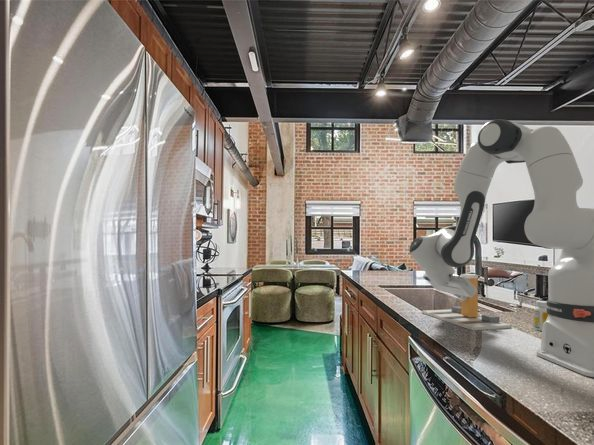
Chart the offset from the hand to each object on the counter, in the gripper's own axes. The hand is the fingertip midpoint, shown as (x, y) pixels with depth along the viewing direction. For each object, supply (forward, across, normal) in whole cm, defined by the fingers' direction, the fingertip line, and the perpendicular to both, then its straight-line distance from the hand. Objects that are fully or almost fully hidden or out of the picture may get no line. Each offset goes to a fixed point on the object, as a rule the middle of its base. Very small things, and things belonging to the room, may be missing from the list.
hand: (463, 299), depth 134 cm
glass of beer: (+6, 0, +3) cm, 7 cm away
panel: (+5, 0, +6) cm, 8 cm away
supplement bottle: (+17, -19, -6) cm, 26 cm away
